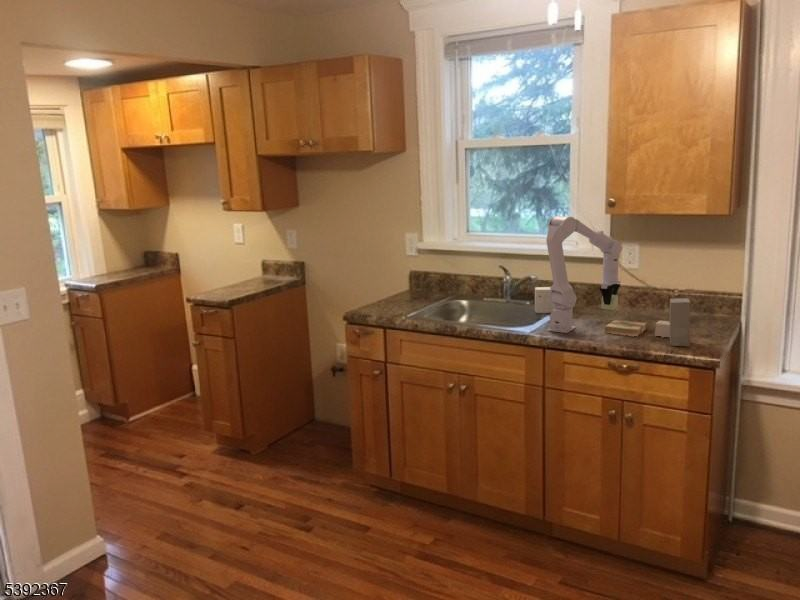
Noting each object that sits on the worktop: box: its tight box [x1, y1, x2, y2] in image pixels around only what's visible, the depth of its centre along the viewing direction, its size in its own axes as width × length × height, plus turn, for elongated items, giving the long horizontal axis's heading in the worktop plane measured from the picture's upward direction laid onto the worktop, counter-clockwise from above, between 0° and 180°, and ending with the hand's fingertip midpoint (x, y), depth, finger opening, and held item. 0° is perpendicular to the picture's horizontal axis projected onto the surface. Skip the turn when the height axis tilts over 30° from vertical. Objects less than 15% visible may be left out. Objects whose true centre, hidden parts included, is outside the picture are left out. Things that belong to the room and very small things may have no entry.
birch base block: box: [604, 319, 647, 337], centre depth 247 cm, size 12×12×3 cm
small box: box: [534, 286, 553, 314], centre depth 282 cm, size 8×6×10 cm
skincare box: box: [668, 297, 691, 348], centre depth 227 cm, size 8×7×16 cm
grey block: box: [654, 320, 670, 338], centre depth 239 cm, size 5×5×5 cm
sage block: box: [600, 294, 619, 311], centre depth 260 cm, size 5×5×5 cm
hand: (609, 303), depth 260 cm, fingers closed on sage block, 5 cm apart
